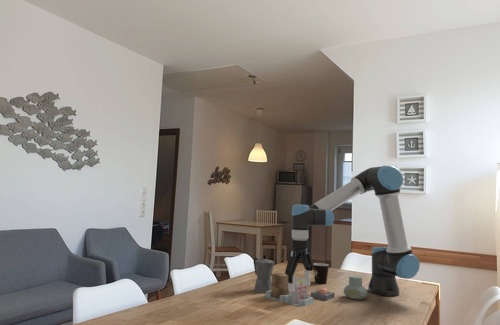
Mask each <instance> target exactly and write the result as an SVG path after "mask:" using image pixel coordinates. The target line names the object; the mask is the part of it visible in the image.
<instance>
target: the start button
mask: <svg viewBox="0 0 500 325" xmlns="http://www.w3.org/2000/svg"><path fill="white" fill-rule="evenodd" d="M318 290H319V291H318V293H320V294H327V291H328V288H325V287H319V288H318Z"/></svg>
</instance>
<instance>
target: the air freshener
mask: <svg viewBox="0 0 500 325" xmlns="http://www.w3.org/2000/svg"><path fill="white" fill-rule="evenodd" d="M348 277H349V278H348V284H347V285H346V286H344V288H343V294H344V295H345V296H346V297H347V298H349V299H351V300H353V301H354V300H355V301H357V300H362V299H365V298H366V297H367V296H368V289H367V288H366V287H364V286H363V277H362V276H359V275H349V276H348Z"/></svg>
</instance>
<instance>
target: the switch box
mask: <svg viewBox="0 0 500 325" xmlns="http://www.w3.org/2000/svg"><path fill="white" fill-rule="evenodd" d="M318 291H319V289H317V290H315V291H311V292H310V297H312V298H313V299H319V300H321V301H329V300H331V299H334V298H335V296H336V295H335V292H332V291H328V290H327V294H320V293H318Z"/></svg>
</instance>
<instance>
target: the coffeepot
mask: <svg viewBox="0 0 500 325" xmlns="http://www.w3.org/2000/svg"><path fill="white" fill-rule="evenodd" d="M274 264H275V261H273V260H270V259H267V255H266V254H264V255H262V259H261V258H259V257H255V258H254V259H253V267H254V274H255V275H256V280H255V283H254V287H253V288H254V289H253V290H254V292H255V293H259V294H266V291H270V290H271V287H272V274H273V270H274Z"/></svg>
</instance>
